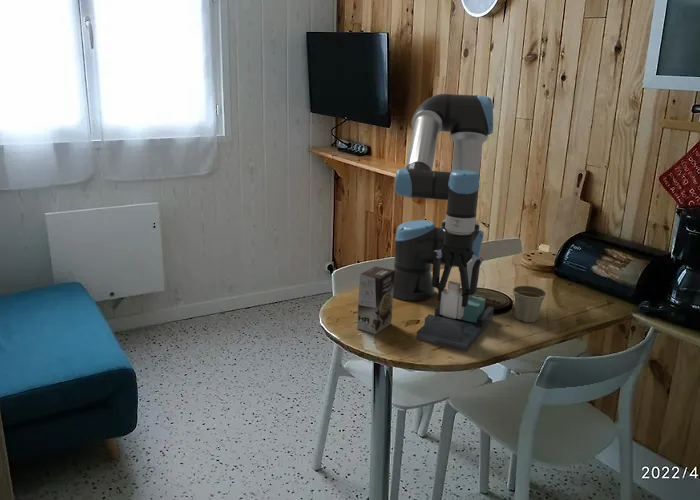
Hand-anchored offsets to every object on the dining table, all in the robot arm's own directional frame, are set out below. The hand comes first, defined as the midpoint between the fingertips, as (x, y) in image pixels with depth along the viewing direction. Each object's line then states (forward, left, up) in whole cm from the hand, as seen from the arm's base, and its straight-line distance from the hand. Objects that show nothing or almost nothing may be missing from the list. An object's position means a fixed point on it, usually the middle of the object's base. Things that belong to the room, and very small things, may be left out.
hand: (451, 314), depth 164 cm
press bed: (0, +6, -6) cm, 8 cm away
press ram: (0, +11, -4) cm, 12 cm away
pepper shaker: (0, 0, 0) cm, 0 cm away
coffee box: (-20, -5, -7) cm, 22 cm away
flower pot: (+15, +25, -7) cm, 30 cm away
